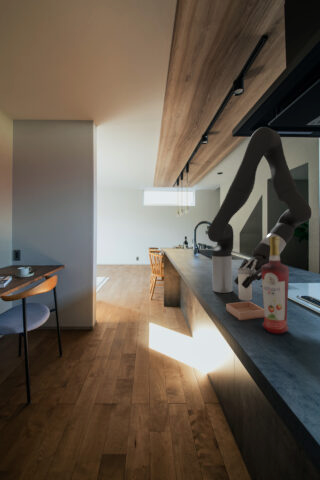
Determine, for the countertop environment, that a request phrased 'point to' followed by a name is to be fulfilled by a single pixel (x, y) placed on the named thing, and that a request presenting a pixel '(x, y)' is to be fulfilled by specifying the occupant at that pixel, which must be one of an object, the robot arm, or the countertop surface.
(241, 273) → the battery cell
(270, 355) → the countertop surface
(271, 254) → the liquor
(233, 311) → the dish
